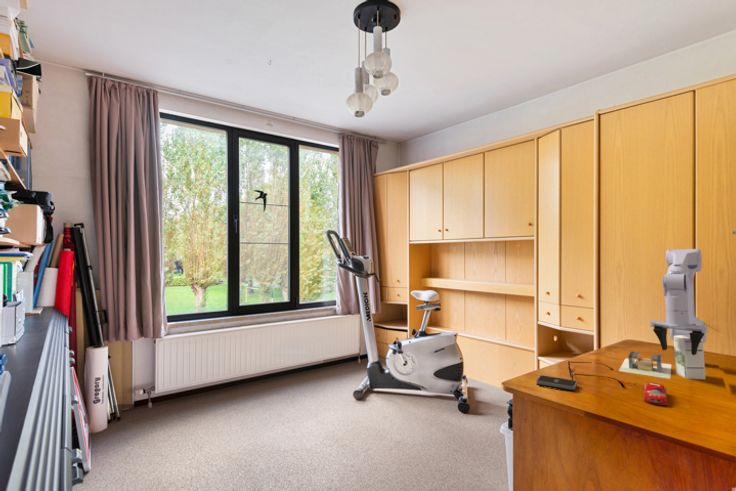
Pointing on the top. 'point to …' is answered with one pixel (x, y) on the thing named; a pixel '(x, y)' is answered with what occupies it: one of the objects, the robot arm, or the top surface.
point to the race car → (655, 394)
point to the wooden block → (645, 364)
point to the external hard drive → (557, 383)
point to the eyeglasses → (590, 375)
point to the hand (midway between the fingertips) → (679, 351)
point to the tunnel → (654, 358)
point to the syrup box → (688, 358)
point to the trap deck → (664, 373)
